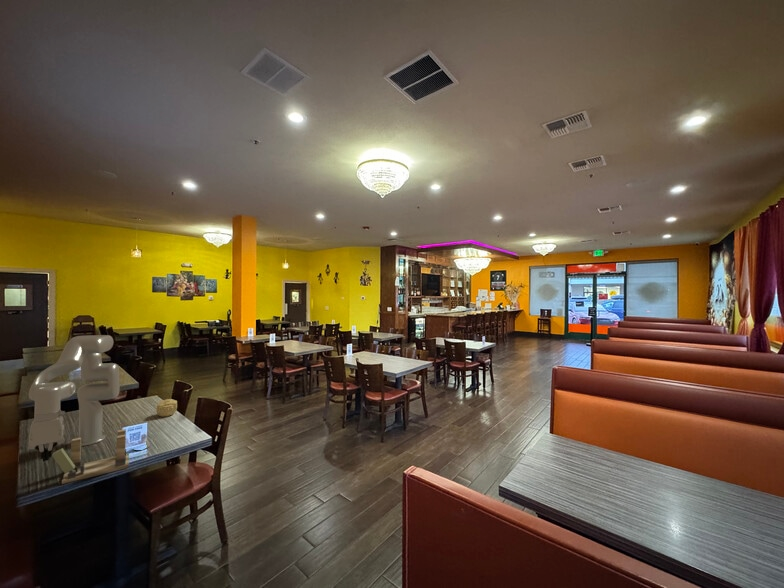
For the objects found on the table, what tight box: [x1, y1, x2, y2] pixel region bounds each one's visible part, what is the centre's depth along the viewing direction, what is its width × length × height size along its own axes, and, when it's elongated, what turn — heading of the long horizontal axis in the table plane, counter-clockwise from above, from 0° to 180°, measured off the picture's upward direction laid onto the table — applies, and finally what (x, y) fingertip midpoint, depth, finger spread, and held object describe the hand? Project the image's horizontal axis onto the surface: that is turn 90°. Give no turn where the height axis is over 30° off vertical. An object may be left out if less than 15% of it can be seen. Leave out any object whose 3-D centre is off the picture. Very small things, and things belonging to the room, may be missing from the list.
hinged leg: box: [52, 447, 76, 474], centre depth 140 cm, size 4×3×13 cm
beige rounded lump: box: [156, 398, 178, 418], centre depth 218 cm, size 11×12×11 cm
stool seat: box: [61, 428, 130, 485], centre depth 149 cm, size 14×22×14 cm, turn 129°
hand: (46, 459), depth 136 cm, fingers closed
